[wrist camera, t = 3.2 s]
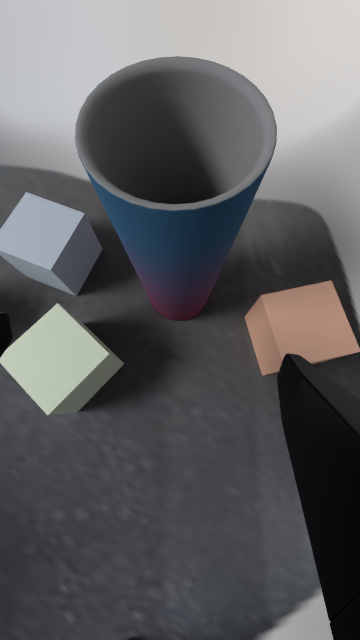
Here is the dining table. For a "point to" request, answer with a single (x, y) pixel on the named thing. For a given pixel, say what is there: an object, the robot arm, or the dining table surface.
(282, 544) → the dining table surface
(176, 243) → the cup
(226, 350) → the dining table surface
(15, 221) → the block slate
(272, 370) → the block terracotta
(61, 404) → the block sage
